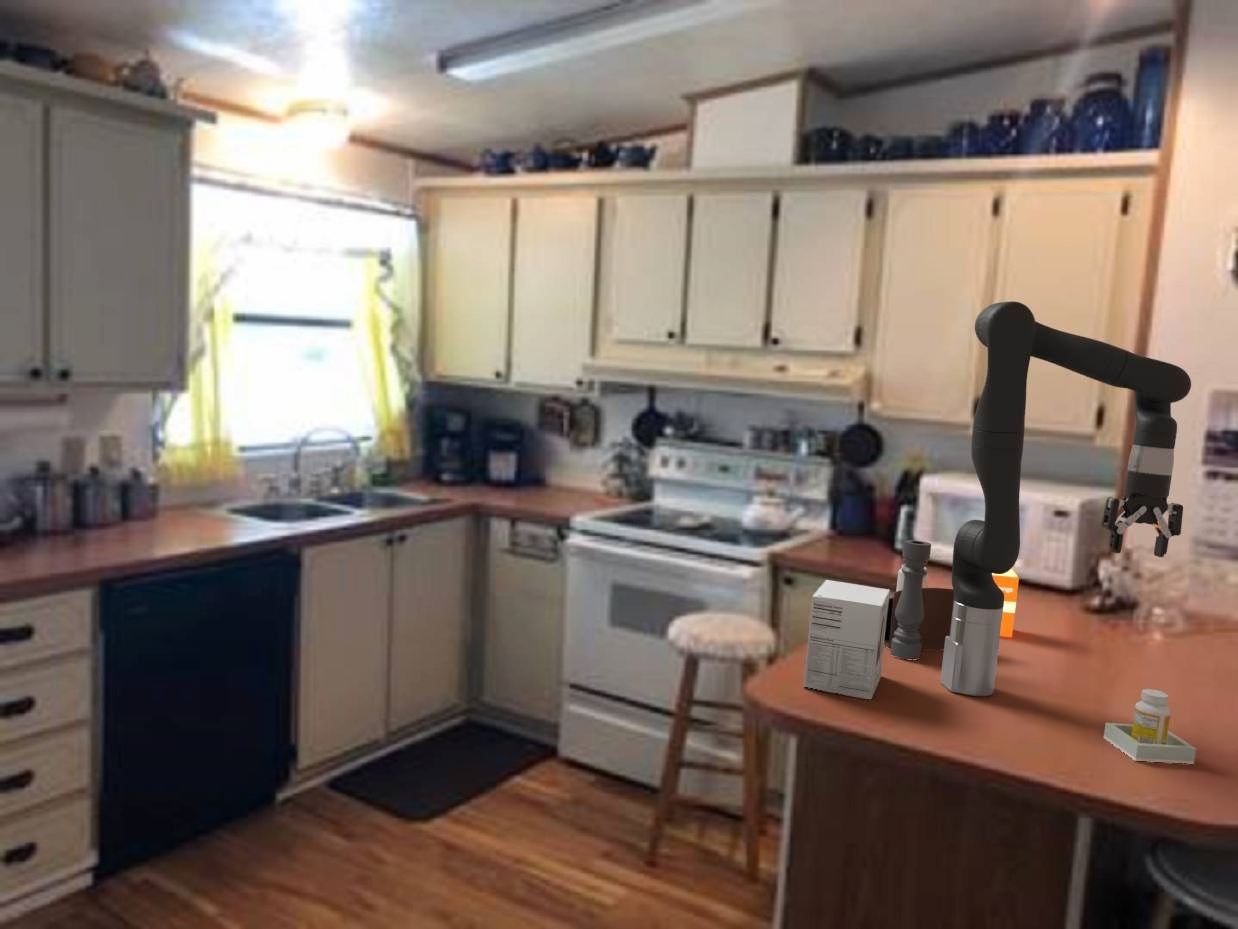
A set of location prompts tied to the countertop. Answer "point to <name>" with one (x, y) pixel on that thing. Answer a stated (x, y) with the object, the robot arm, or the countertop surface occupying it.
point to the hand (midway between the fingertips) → (1137, 554)
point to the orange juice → (1007, 599)
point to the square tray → (1149, 746)
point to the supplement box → (846, 639)
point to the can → (901, 579)
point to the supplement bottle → (1151, 718)
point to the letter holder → (926, 617)
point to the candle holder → (911, 601)
